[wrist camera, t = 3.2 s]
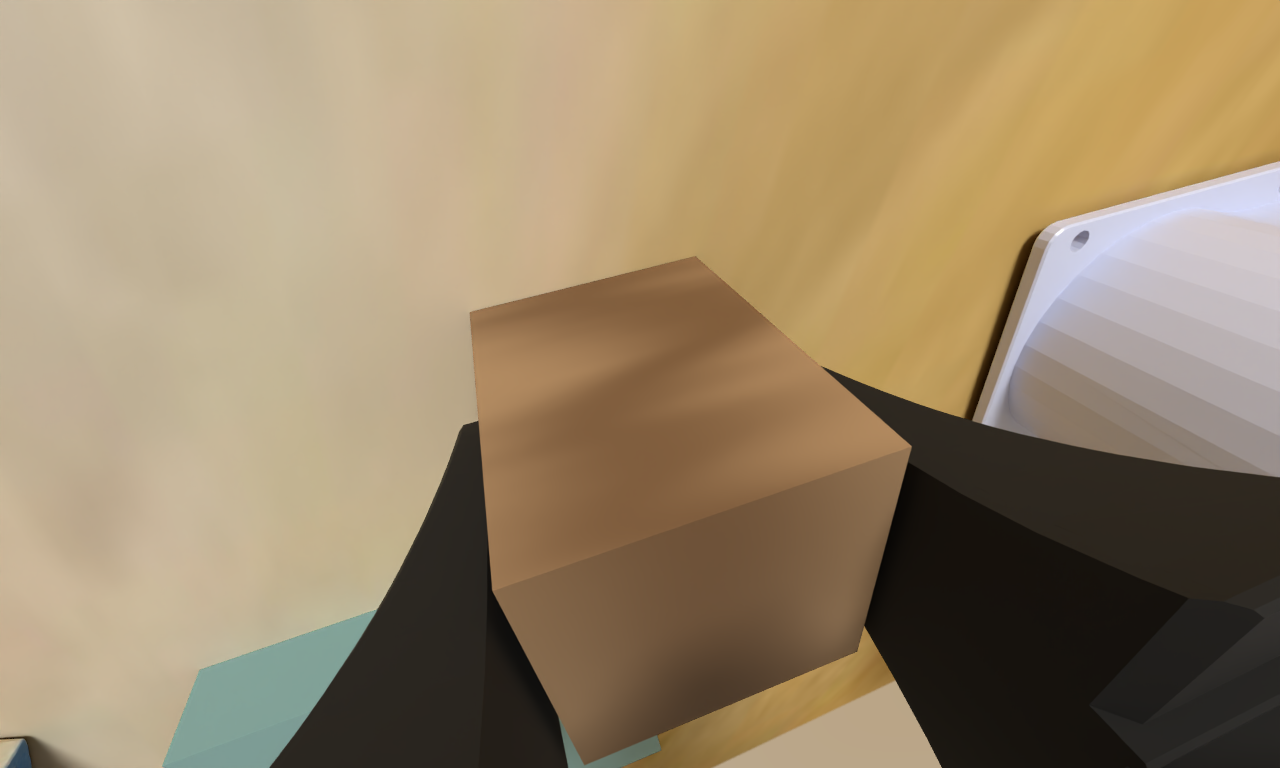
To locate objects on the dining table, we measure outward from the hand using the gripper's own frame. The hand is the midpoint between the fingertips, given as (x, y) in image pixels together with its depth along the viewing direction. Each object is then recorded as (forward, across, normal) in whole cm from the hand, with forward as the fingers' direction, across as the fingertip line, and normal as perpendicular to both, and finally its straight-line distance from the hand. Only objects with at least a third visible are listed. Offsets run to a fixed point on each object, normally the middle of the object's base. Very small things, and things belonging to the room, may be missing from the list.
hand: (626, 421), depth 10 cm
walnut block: (+2, 0, 0) cm, 2 cm away
